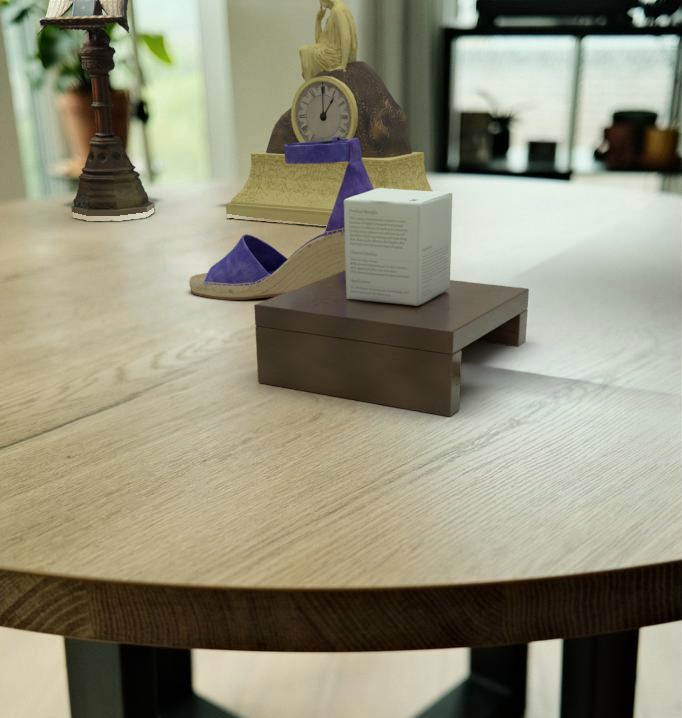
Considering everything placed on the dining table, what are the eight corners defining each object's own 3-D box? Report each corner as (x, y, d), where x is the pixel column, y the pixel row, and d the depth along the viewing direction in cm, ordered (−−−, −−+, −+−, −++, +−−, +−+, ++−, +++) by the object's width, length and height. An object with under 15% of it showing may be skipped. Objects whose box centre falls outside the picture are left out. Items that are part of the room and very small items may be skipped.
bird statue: (149, 227, 140) (123, -64, 125) (55, 228, 140) (18, -62, 125) (171, 208, 155) (150, -54, 140) (86, 209, 155) (56, -52, 140)
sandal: (217, 279, 110) (207, 131, 103) (389, 293, 103) (390, 136, 97) (178, 295, 103) (165, 139, 97) (360, 312, 96) (359, 144, 90)
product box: (452, 290, 78) (455, 191, 74) (417, 308, 73) (420, 202, 70) (380, 283, 80) (380, 186, 77) (343, 299, 75) (341, 197, 72)
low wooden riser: (524, 363, 81) (529, 288, 78) (450, 417, 70) (453, 331, 67) (349, 338, 88) (348, 268, 85) (257, 382, 77) (253, 304, 75)
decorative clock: (226, 218, 146) (212, -17, 133) (276, 206, 156) (267, -14, 143) (401, 234, 133) (403, -25, 120) (442, 219, 143) (449, -22, 130)
